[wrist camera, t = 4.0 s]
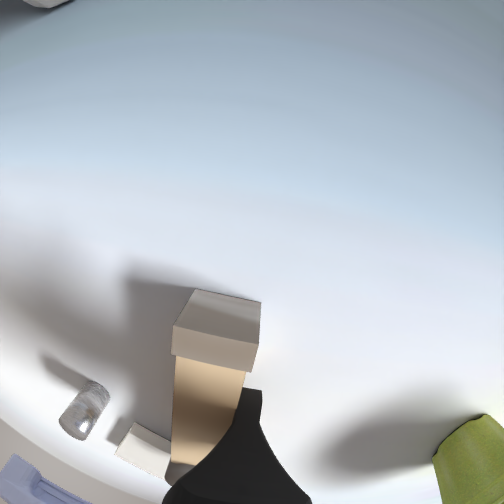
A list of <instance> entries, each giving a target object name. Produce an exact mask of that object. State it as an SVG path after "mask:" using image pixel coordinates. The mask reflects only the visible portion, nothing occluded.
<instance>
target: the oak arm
mask: <svg viewBox="0 0 504 504" xmlns="http://www.w3.org/2000/svg"><path fill="white" fill-rule="evenodd" d="M260 314H261V303H260V302H255V301H250V300H245V299H240V298H235V297H231V296H226V295H222V294H217V293H213V292H208V291H204V290H199V289H195V290H194V292H193V293H192V295H191V297H190V298H189V300H188V302H187V303H186V305H185V307H184V308H183V310H182V312H181V313H180V315H179V316H178V318H177V320H176V321H175V323H174V325H173V333H172V345H171V354H172V355H175V356H176V364H175V378H174V393H173V411H172V437H171V457H170V460H169V463H168V466H167V470H166V473H165V476H164V478H165V480H166V482H167V483H168V484H169V485H171V486H173V485H174V484H175V483H176V481H177V480H178V479H179V478H180V477H182V476H183V475H184V474H186V473H187V472H188V471H190V470H191V469H192V468H194V467H195V466H196V465H197V464H198V463H199V462H200V461H201V460H202V459H203V458H205V457H206V456H207V455H208V454H209V452H210V451H211V450H212V449H213V448H214V447H215V446H216V445H217V443H218V442H219V441H220V440H221V438H222V437H223V436H224V434H225V433H226V432H227V430H228V429H229V427H230V426H231V424H232V421H233V417H234V413H235V409H237V405H238V401H239V398H240V394H241V390H242V386H243V383H244V379H245V375H246V372H251V371H252V368H253V364H254V360H255V357H256V353H257V349H258V345H259V331H260Z"/></svg>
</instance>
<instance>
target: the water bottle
mask: <svg viewBox="0 0 504 504" xmlns="http://www.w3.org/2000/svg"><path fill="white" fill-rule="evenodd" d="M23 1H25V2H27V3H29V4H31V5H32V6H34V7H44V8H51V7H54V6H57V5H59V4H62V3H64V2H66V1H69V0H23Z"/></svg>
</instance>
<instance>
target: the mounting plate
mask: <svg viewBox="0 0 504 504" xmlns="http://www.w3.org/2000/svg"><path fill="white" fill-rule="evenodd" d="M114 455H116V456H117V457H119V458H121V459H123V460H125V461H126V462H128V463H130V464H132V465H134V466H136V467H138V468H140V469H142V470H144V471H146V472H148V473H150V474H152V475H154V476H156V477H158V478H161V479H163V480H165V478H164V476H165V473H166V470H167V466H168V463H169V460H170V457H171V441H169V440H167V439H165V438H163V437H161V436H159V435H157V434H155V433H153V432H151V431H149V430H148V429H146V428H144V427H142V426H140V425H139V424H137V423H135V422H134V424H133V425H132V427H131V428H130V430H129V431H128V433H127V434H126V436H125V437H124V438H123V440H122V441H121V443H120V444H119V446H118V448H117V450H116V452H115V454H114ZM165 481H166V480H165Z"/></svg>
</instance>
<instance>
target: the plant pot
mask: <svg viewBox="0 0 504 504" xmlns="http://www.w3.org/2000/svg"><path fill="white" fill-rule="evenodd" d="M432 462H433V465H434V469H435V473H436V477H437V481H438V485H439V489H440V494H441V498H442V503H443V504H504V428H503V427H502V426H501V425H500V424H499V423H498V422H497V421H496V420H494V419H493V418H492V417H491V416H490V415H483V416H482V417H481V418H480V419H477V420H471V421H469V422H467V423H465V424H464V425H462V426H461V427H460V428H458V429H457V430H456V431H455V432H453V433H452V434H451V435H450V436H449V437H447V438H446V439H445V440H444V441H443V442H442V444H441V445H440V446H439V449H438V451H437V453H436V455H434V456H433V458H432Z"/></svg>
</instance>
